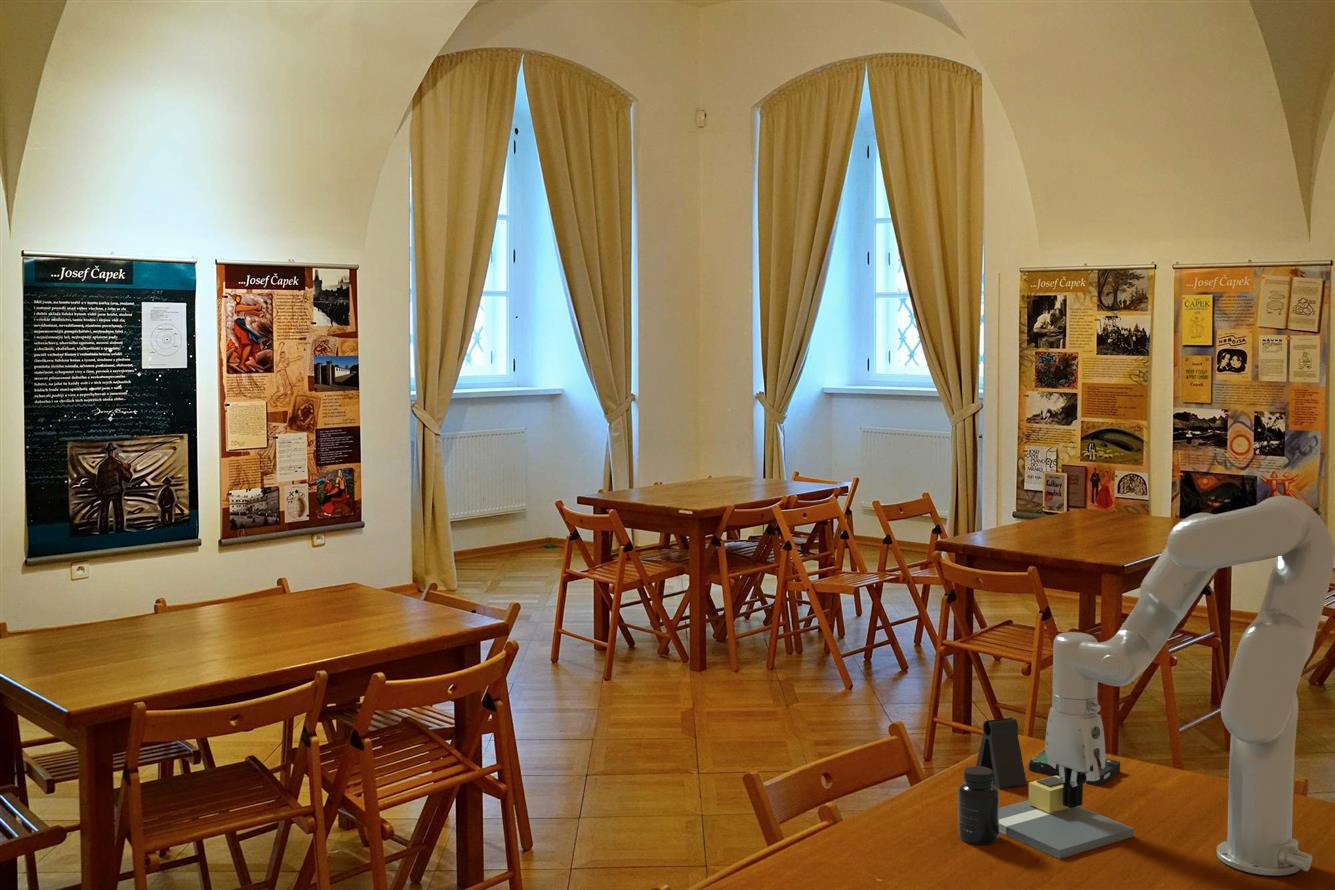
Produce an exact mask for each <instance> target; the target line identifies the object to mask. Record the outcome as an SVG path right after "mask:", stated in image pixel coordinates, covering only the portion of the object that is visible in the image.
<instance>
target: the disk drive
mask: <svg viewBox="0 0 1335 890" xmlns="http://www.w3.org/2000/svg"><path fill="white" fill-rule="evenodd" d="M1028 771H1029V772H1035V773H1038V774H1041V775H1043V774H1044V775H1049V776H1051V777H1053V776H1059V777H1060V775H1059V773H1058V772H1057V770H1056V769H1055V768H1053V767H1052V766H1051V765H1049V764H1048V758H1047V757H1046V751H1045V749H1044V750H1043V751H1041V752H1039V753H1038V755H1036V756H1035V757H1033V758H1030V759H1029V762H1028ZM1118 774H1121V762H1120V761H1118V760H1115V759H1109V758H1105V767H1104V769H1102V770H1099V776H1100V779H1099V780H1096V781H1087V782H1086V784H1088V785H1094V786H1098V787H1102V786H1104V785H1105V784H1107V783H1108V782H1109V781H1110V780H1112V779H1113V778H1115V777H1116V776H1117V775H1118ZM1079 775H1080V774H1079Z"/></svg>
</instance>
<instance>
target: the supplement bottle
mask: <svg viewBox="0 0 1335 890" xmlns="http://www.w3.org/2000/svg"><path fill="white" fill-rule="evenodd" d="M992 783H993V772H992V770H991V769H989V768H987V767H982V766H976V765H972V766H967V767H966V768H964V770H963V782H962V783H961V785H960V786H959V787H958V790H957V792H958V793H957V807H958V808H957V809H958V810H957V812H958V813H957V815H958V819H957V821H958V828H957V829H958V836H959V838H960V839H961V840H962V841H963V842H965V843H968V844H971V845H976V846H977V845H979V846H981V845H982V846H988V845H991V844H994V843H996V842H997V841H998V840H999V837H1000V832H999V808H1000V794H999V793H1000V792H999V789H998V788H996V787H995V786H994V785H993V784H992Z"/></svg>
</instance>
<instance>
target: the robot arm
mask: <svg viewBox="0 0 1335 890" xmlns="http://www.w3.org/2000/svg"><path fill="white" fill-rule="evenodd" d="M1333 544H1334V543H1333V540H1332V536H1331V533H1330V532H1329V529H1328V527H1327V525H1326V524H1325V522H1324V520H1323V519H1322V518H1321V516H1320V515H1319V514H1318V513H1317V512H1316V511H1315V510H1314V509H1313V508H1312V507H1310V506H1309V505H1308V504H1307V503H1305V502H1304V501H1302V500H1300V499H1298V498H1295V497H1292V496H1288V495H1275V496H1271V497H1268V498H1266V499H1263V500H1262V501H1260V502H1259V503H1257V504H1256V505H1252V506H1247V507H1243V508H1239V509H1235V510H1231V511H1230V510H1229V511H1226V512H1221V513H1215V514H1214V513H1210V512H1198V513H1194V514H1191V515H1189V516H1187V517H1186V518H1184V519H1182V520H1180V521H1178V522H1177V523H1176V524H1175V525H1174V526H1173V528H1171V530H1170V532H1169V533H1168V537H1167V542H1166V546H1165V548H1164V549H1163V551H1162V552H1161V553H1160V555H1159V557H1158V558H1157V559H1156V560H1155V562H1154V564H1153V565H1152V566H1151V568H1150V570H1149V571H1148V572H1147V574H1146V575H1145V576H1144V578H1143V580H1142V582H1141V584H1140V590H1139V592H1140V593H1139V597H1138V600H1137V602H1136V603H1135V605H1134V607H1133V609H1132V610H1131V612H1130V614H1129V615H1128V616H1127V618H1126V620H1125V621H1124V622H1123V624H1122V625H1121V627H1120V628H1119V630H1118V631H1117V632H1116V633H1115V635H1114V636H1113V637H1111V638H1110V639H1108V640H1105V641H1102V642H1098V640H1097V638H1096V637H1095V636H1093V635H1091V634H1088V633H1084V632H1077V631H1074V632H1073V631H1068V632H1061V633H1058V635H1056V636H1055V638H1053V639H1054V640H1053V644H1052V645H1053V647H1052V648H1053V651H1052V653H1053V654H1052V656H1053V657H1052V695H1051V696H1052V698H1051V699H1052V701H1051V702H1052V704H1051V705H1052V706H1051V707H1050V709H1049V713H1048V716H1047V723H1046V730H1045V731H1046V732H1045V745H1044V747H1045V749H1044V750H1045V751H1046V757H1047V758H1048V764H1049V765H1051V766H1052V767H1053V768H1055V769H1056V770H1057V772H1058V773H1059V775H1060V781H1061V782H1062V783H1063V805H1064V806H1068V807H1069V808H1074V807H1077V806H1079V807H1081V806H1082V805H1083V797H1084V796H1083V795H1084V794H1083V792H1084V789H1083V787H1084V785H1086V784H1087V783H1086V782H1087V781H1096V780H1099V779H1100V776H1099V770H1102V769H1104V767H1105V759H1106V744H1105V743H1106V742H1105V741H1106V740H1105V732H1104V730H1105V729H1104V725H1103V720H1102V715H1101V714H1099V712H1100V711H1101V709H1102V707H1101V705H1100V704H1098V687H1099V686H1098V683H1101V684H1103V685H1108V686H1111V687H1123V686H1127V685H1129V684H1130V683H1132V682H1133V681H1135V679H1137V678H1138V677H1139V676H1140V675H1141V674H1142V673H1143V672H1145V671H1146V670H1147V669H1148V667H1149V666H1150V665H1151V663H1152V662H1153V661H1154V659H1155V658H1156V657H1157V656H1158V654H1159V652H1160V651H1161V649H1163V647H1164V645H1165V643H1167V641H1168V639H1169V638H1170V636H1172V634H1173V632H1174V630H1176V627H1178V625H1179V624H1180V622H1181V621H1182V620H1183V619H1184V618H1185V617H1186V615H1187V613H1188V611H1189V610H1190V609H1191V606H1192V605H1193V604H1194V603H1195V601H1197V599H1198V597H1199V596H1200V594H1201V592H1202V591H1203V589H1204V588H1205V586H1206V585H1207V584H1208V582H1209V581H1210V580H1211V578H1212V577H1213V576H1214V574H1215V573H1216V572H1217V570H1218V569H1223V568H1228V567H1233V566H1239V565H1245V564H1249V563H1254V562H1259V561H1264V560H1265V561H1266V560H1270V559H1274V563H1273V566H1272V569H1271V573H1270V575H1269V578H1268V581H1267V587H1266V590H1265V593H1264V597H1263V600H1262V603H1261V606H1260V608H1259V612H1258V613H1257V615H1256V617H1255V619H1254V620H1252V622H1251V623H1250V624H1248V627H1247V628H1246V629H1245V630H1244V632H1243V633H1242V635H1241V638H1240V640H1239V643H1238V646H1237V648H1236V653H1235V656H1234V659H1233V662H1232V666H1231V669H1230V672H1229V675H1228V679H1227V681H1226V686H1225V689H1224V692H1223V696H1222V698H1221V703H1220V714H1221V716H1220V717H1221V720H1222V723H1223V724H1224V727H1225V728H1226V729H1227V731H1228V733H1230V746H1229V766H1228V767H1229V768H1228V800H1227V801H1228V802H1227V835H1226V837H1227V839H1226V840H1225V841H1222V842H1220V843H1218V845H1217V846H1216V855H1217V857H1218V859H1219V860H1220V861H1221V862H1222V863H1224V864H1226V865H1227V866H1229V867H1231V868H1234V869H1236V870H1239V871H1242V872H1246V873H1250V874H1255V875H1261V876H1272V877H1273V876H1276V877H1277V876H1279V877H1280V876H1281V877H1282V876H1288V875H1292V874H1296V873H1298V872H1299V871H1300V870H1301V871H1303V872H1304V871H1305V872H1308V871H1309V870H1310V868H1311V866H1312V862H1313V859H1314V858H1313V855H1312V854H1310V853H1307V852H1304V851H1300V850H1299V839H1295V838H1293V836H1292V835H1293V804H1294V777H1295V776H1294V773H1295V755H1296V754H1295V753H1296V752H1295V751H1296V739H1297V726H1298V716H1299V700H1298V695H1297V689H1298V686H1299V683H1300V679H1301V677H1302V674H1303V670H1304V667H1305V665H1306V663H1307V661H1308V660H1309V658H1310V657H1311V654H1312V652H1313V649H1314V644H1315V639H1316V635H1317V631H1318V630H1317V629H1318V627H1319V623H1320V620H1321V616H1322V613H1323V610H1324V606H1325V602H1326V598H1327V595H1328V591H1329V587H1330V584H1331V581H1332V577H1333V571H1334V564H1335V563H1334V562H1335V561H1334V560H1335V550H1334V545H1333ZM1079 774H1080V775H1079Z"/></svg>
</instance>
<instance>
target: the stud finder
mask: <svg viewBox="0 0 1335 890" xmlns="http://www.w3.org/2000/svg"><path fill="white" fill-rule="evenodd" d="M1027 799H1028V804H1029V805H1032V806H1034V807H1036V808H1039V809H1041V810H1044V811H1046V812H1048V813H1051V812H1055V811H1059V810H1062V809H1066V808H1069V807H1068V806H1064V805H1063V783H1062V782H1061V781H1060V777H1059V776H1050V777H1046V778H1041V779H1039V780H1034V781H1030V782H1028V798H1027Z"/></svg>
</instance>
